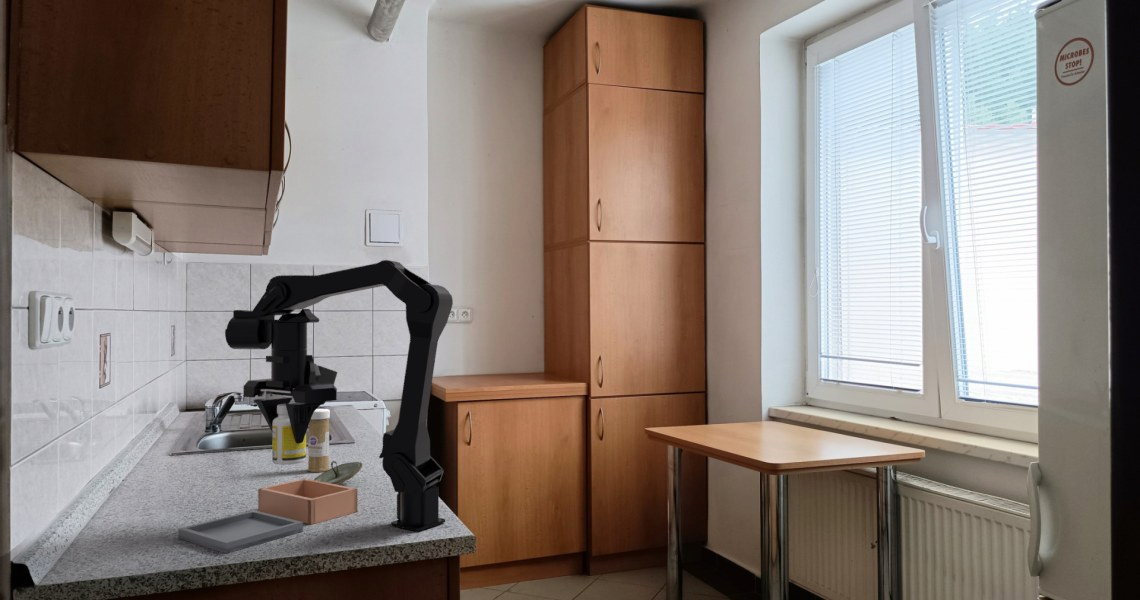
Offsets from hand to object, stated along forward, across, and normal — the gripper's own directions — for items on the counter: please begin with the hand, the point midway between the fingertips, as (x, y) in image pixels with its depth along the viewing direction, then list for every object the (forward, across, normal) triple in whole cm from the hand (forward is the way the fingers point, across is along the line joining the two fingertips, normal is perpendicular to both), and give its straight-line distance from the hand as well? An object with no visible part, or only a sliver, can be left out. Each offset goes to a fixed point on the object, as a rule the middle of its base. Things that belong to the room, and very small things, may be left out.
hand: (289, 441), depth 128 cm
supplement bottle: (+4, 0, 0) cm, 4 cm away
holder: (+13, +1, -4) cm, 14 cm away
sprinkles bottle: (+13, +28, -27) cm, 41 cm away
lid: (+13, +14, -20) cm, 28 cm away
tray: (+13, -2, +10) cm, 17 cm away
